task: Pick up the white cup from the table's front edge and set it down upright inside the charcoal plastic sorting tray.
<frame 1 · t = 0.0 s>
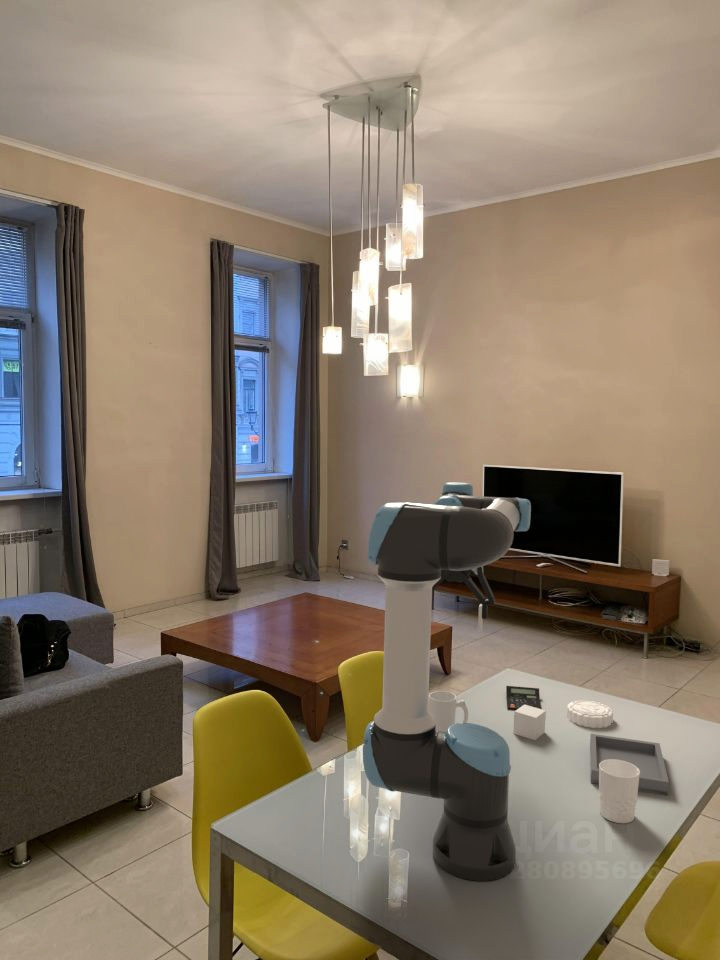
hand: (452, 628, 182), 28 cm above the table, fingers open, 13 cm apart
white cube: (529, 734, 187), on the table
mooncake: (589, 720, 197), on the table
calculator: (523, 704, 207), on the table
white cup: (616, 815, 149), on the table
sorting tray: (626, 768, 169), on the table
mug: (447, 743, 181), on the table
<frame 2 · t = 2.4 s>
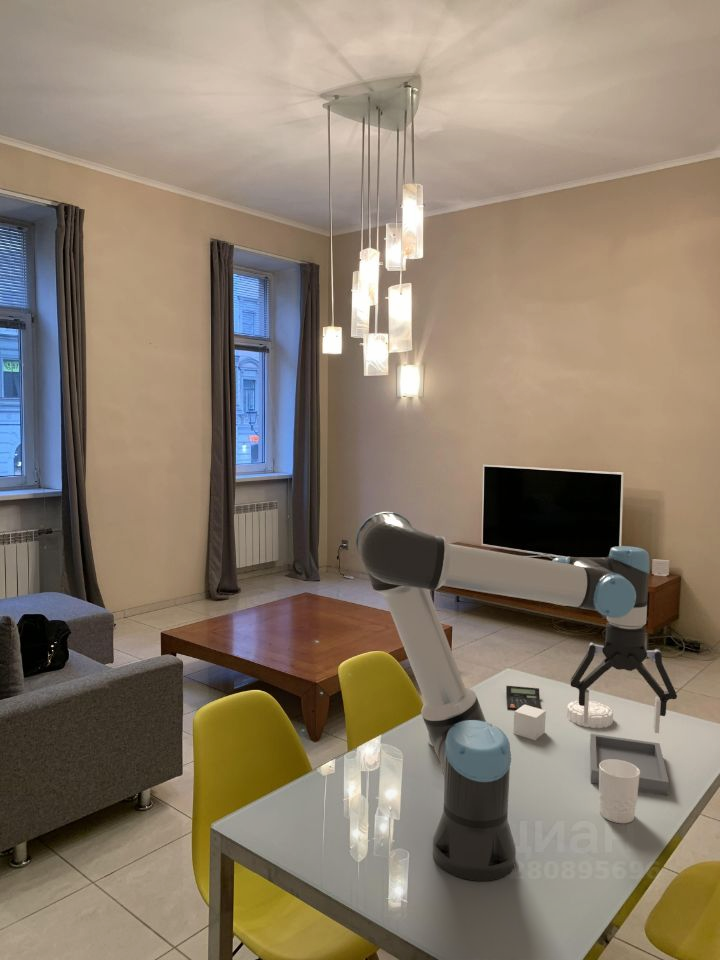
hand: (620, 725, 148), 19 cm above the table, fingers open, 13 cm apart
nothing on the table moved.
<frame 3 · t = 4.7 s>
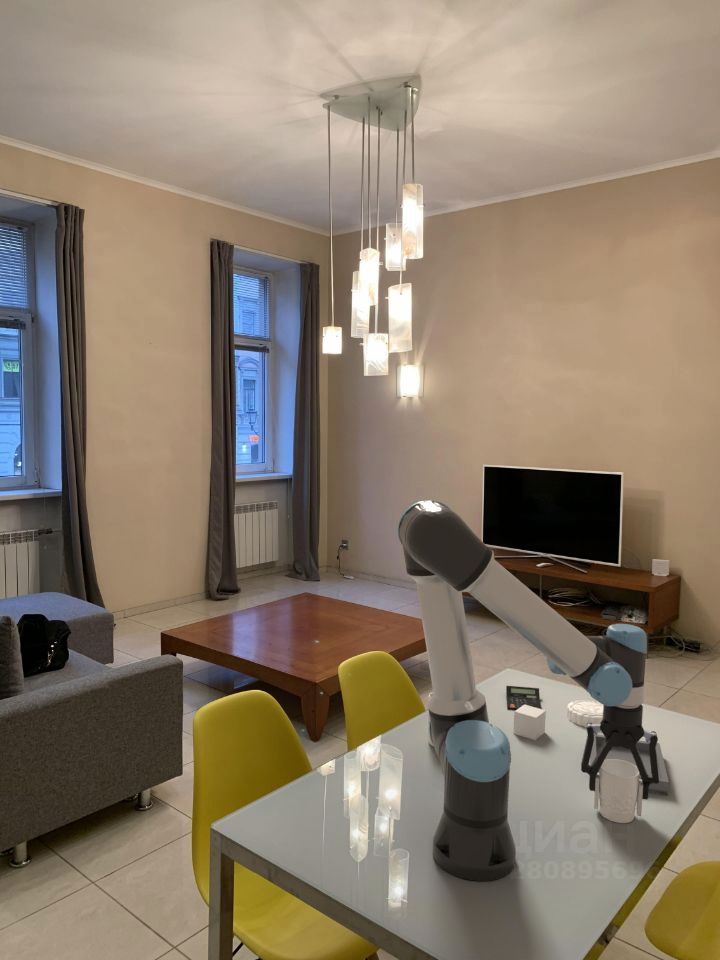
hand: (617, 808, 149), 1 cm above the table, fingers closed on white cup, 8 cm apart
white cup: (616, 815, 149), on the table, touching gripper
everything else where it was.
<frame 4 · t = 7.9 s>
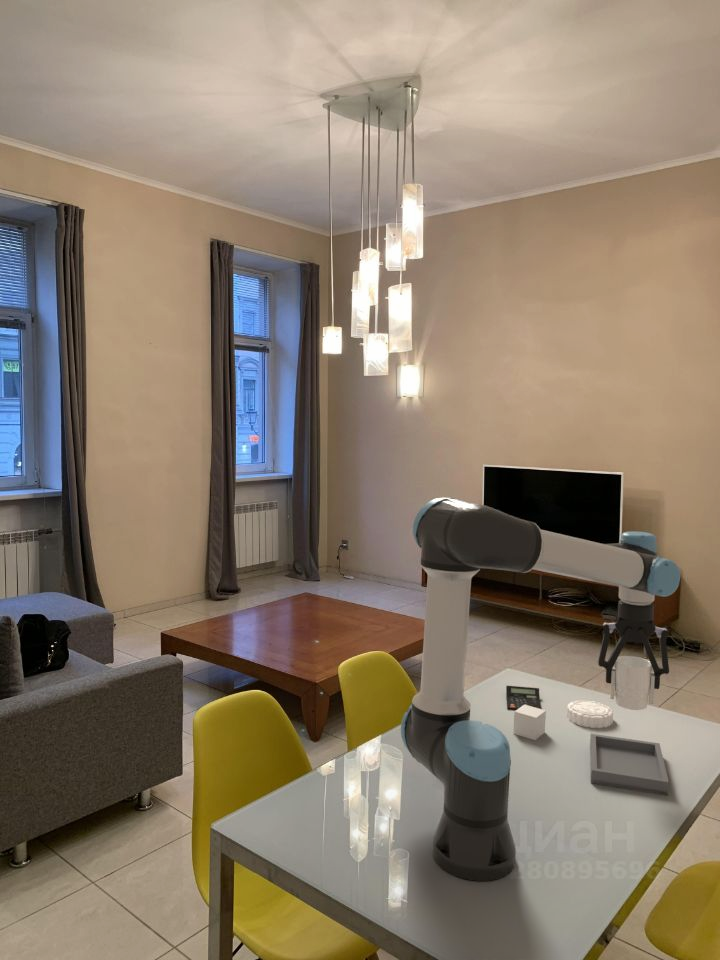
hand: (631, 699, 165), 18 cm above the table, fingers closed on white cup, 8 cm apart
white cup: (631, 705, 165), point 16 cm above the table, touching gripper
everything else where it was.
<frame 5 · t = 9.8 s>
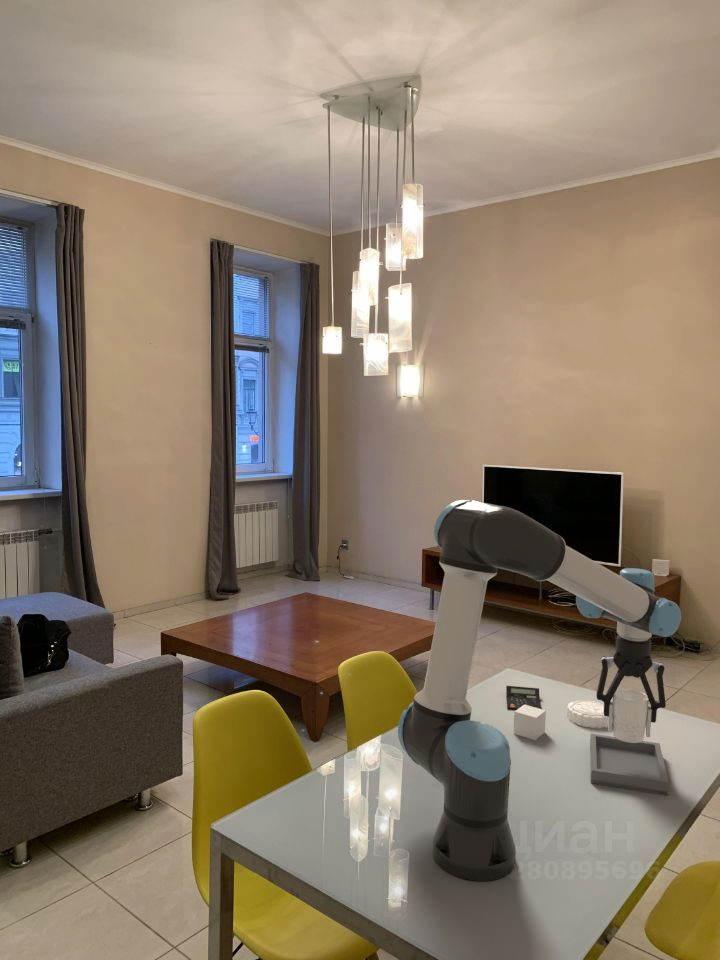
hand: (628, 732, 169), 9 cm above the table, fingers closed on white cup, 8 cm apart
white cup: (628, 737, 169), point 7 cm above the table, touching gripper
everything else where it was.
when the fingers open (4 cm above the table, at t = 11.1 s): white cup drops 2 cm, resting on sorting tray.
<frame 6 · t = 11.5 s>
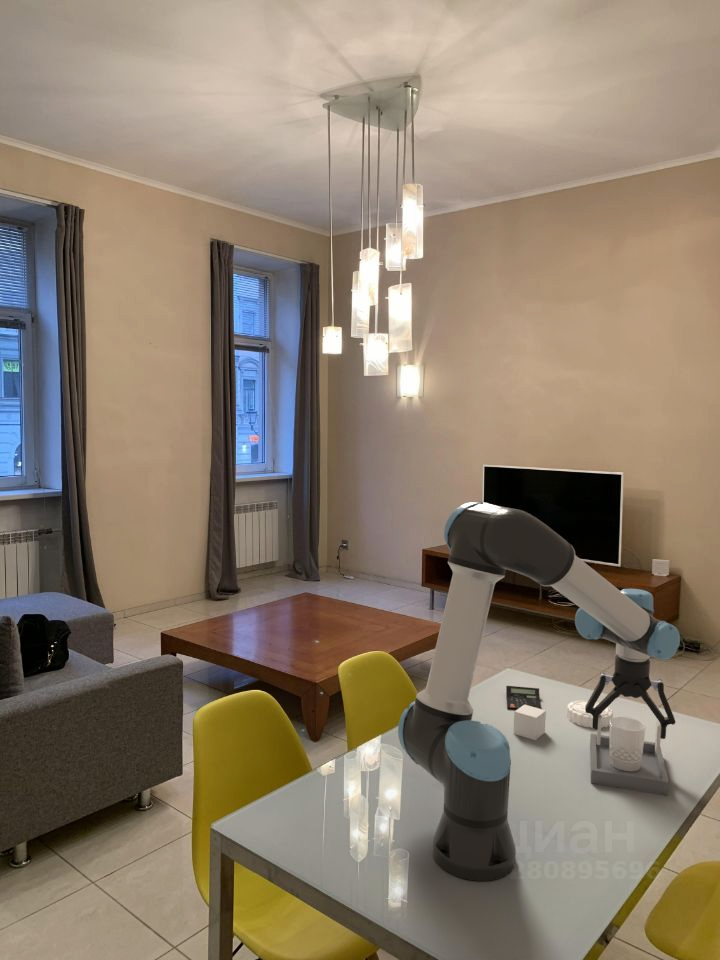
hand: (627, 746, 169), 5 cm above the table, fingers open, 12 cm apart
white cup: (625, 765, 169), point 1 cm above the table, touching sorting tray
everything else where it was.
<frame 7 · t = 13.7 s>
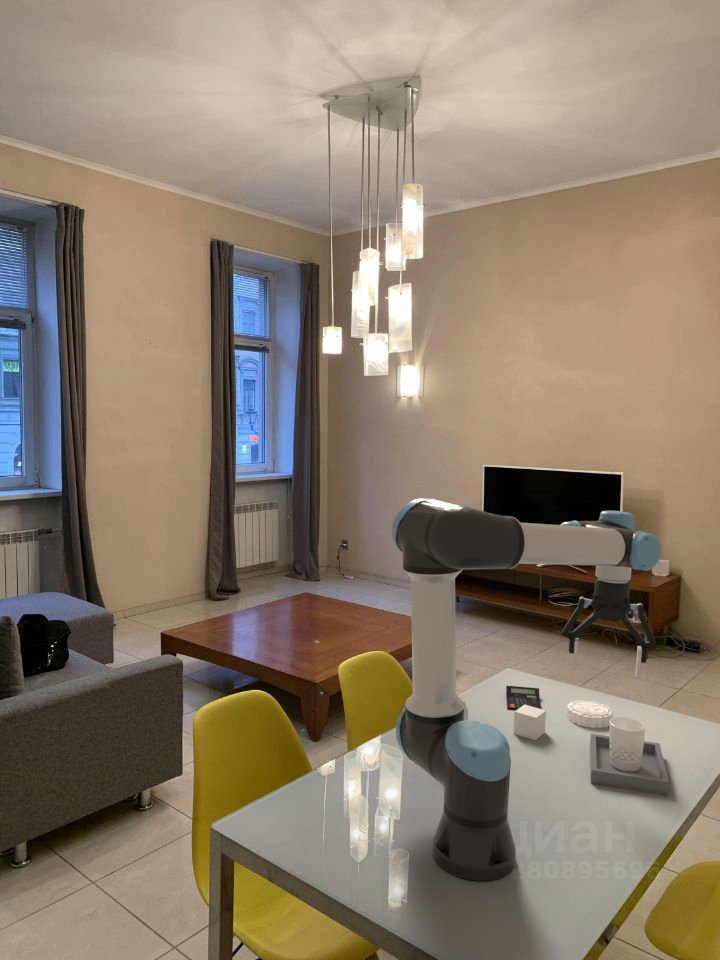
hand: (605, 671, 165), 24 cm above the table, fingers open, 13 cm apart
nothing on the table moved.
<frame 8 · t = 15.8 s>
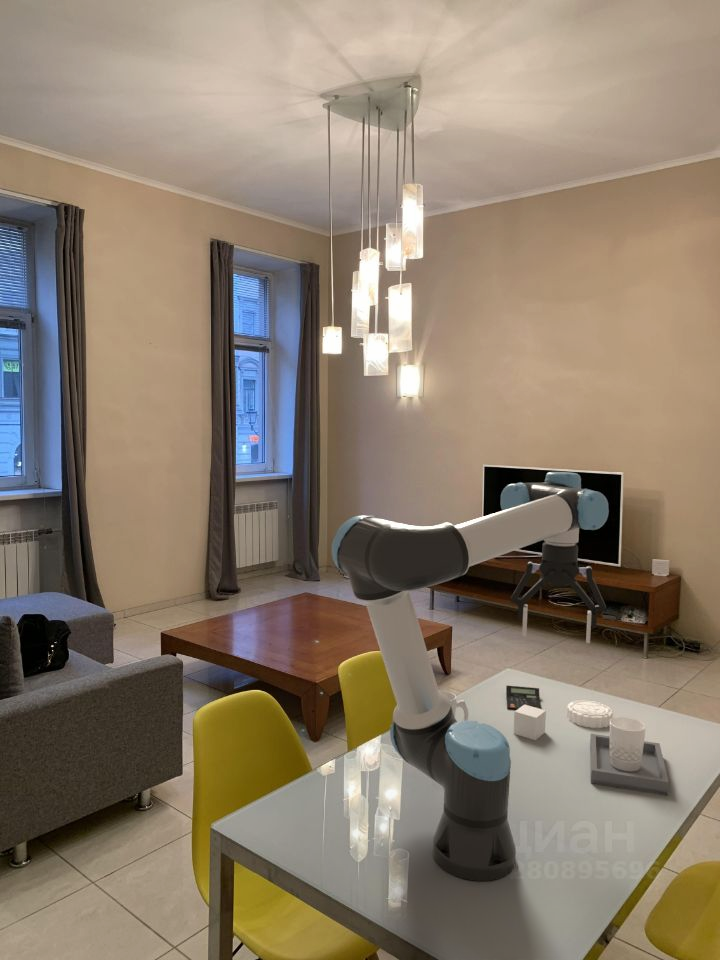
hand: (555, 638, 160), 33 cm above the table, fingers open, 13 cm apart
nothing on the table moved.
at the end: white cup inside the target area on the sorting tray (0.3 cm from its centre), point 0.6 cm above the sorting tray's base; white cup tilted 0°; the gripper is holding nothing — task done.
